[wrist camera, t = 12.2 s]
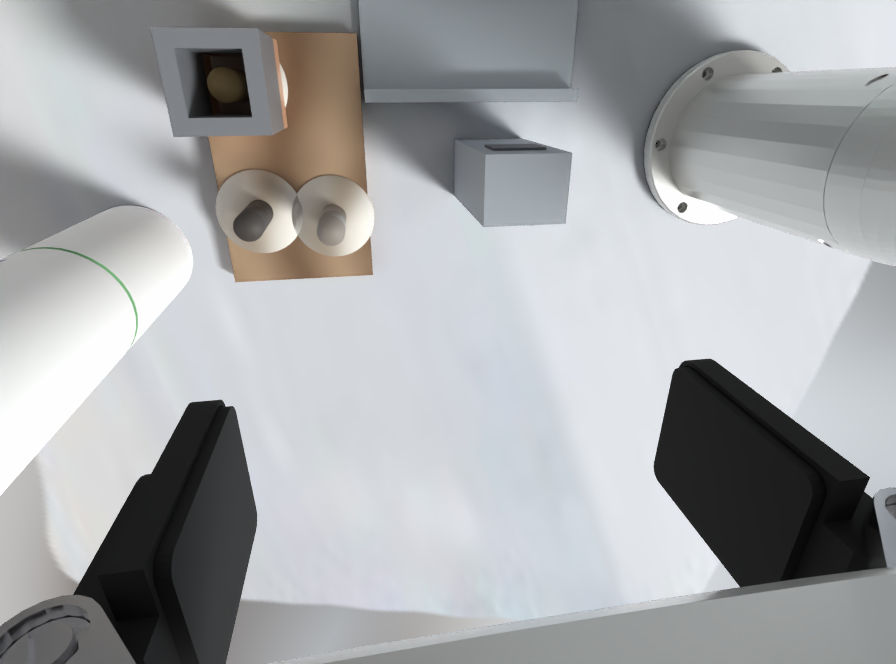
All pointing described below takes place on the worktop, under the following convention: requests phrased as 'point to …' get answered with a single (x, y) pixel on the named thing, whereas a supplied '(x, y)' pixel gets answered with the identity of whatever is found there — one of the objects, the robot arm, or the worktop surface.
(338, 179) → the pin board
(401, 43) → the chute
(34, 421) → the cylindrical container
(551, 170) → the gray rectangular block
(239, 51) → the sleeve
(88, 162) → the worktop surface
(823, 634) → the robot arm
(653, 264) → the worktop surface
